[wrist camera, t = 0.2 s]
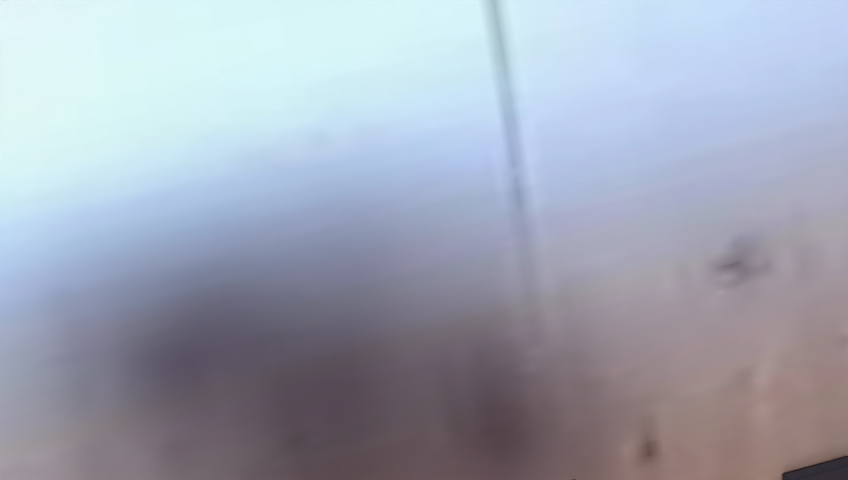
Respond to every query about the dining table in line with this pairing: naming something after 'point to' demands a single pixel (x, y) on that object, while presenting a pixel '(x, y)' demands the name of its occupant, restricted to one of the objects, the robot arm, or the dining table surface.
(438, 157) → the dining table surface
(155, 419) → the dining table surface
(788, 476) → the bin
